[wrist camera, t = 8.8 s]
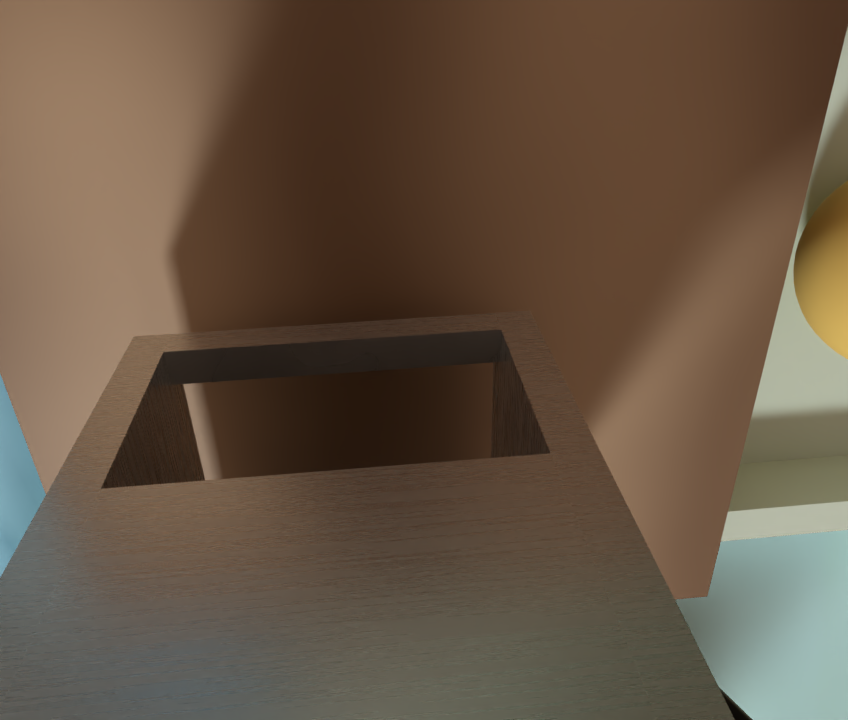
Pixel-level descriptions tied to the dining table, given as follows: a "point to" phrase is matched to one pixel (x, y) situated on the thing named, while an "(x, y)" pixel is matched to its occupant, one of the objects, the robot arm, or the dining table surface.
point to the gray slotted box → (342, 558)
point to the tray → (800, 390)
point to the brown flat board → (415, 218)
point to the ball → (825, 271)
